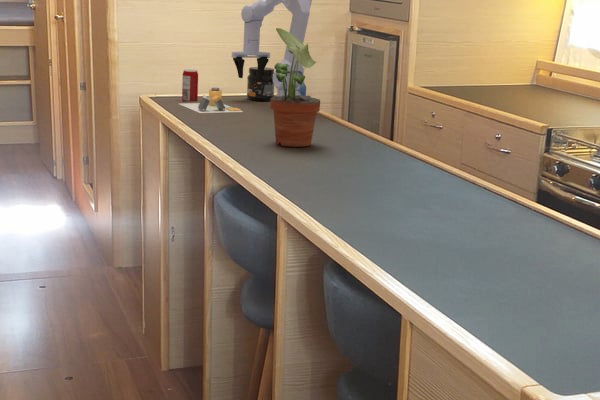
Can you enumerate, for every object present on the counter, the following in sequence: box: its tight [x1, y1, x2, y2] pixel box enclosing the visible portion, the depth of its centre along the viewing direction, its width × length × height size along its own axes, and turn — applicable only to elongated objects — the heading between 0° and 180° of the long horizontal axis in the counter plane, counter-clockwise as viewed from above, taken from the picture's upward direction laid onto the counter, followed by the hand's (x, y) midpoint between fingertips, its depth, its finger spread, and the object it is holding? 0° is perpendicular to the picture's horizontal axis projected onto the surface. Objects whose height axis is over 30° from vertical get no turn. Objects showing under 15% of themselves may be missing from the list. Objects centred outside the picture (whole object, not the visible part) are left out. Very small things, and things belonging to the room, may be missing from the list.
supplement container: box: [246, 66, 275, 103], centre depth 338 cm, size 10×10×12 cm
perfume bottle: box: [298, 82, 307, 96], centre depth 335 cm, size 6×6×12 cm
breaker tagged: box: [212, 95, 225, 111], centre depth 301 cm, size 4×2×5 cm, turn 29°
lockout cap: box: [208, 87, 223, 106], centre depth 310 cm, size 4×4×6 cm
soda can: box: [181, 69, 199, 103], centre depth 321 cm, size 6×6×12 cm
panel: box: [179, 102, 244, 114], centre depth 307 cm, size 20×16×2 cm
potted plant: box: [269, 27, 321, 148], centre depth 251 cm, size 16×15×35 cm
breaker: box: [198, 94, 211, 111], centre depth 299 cm, size 4×2×5 cm, turn 28°
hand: (250, 77), depth 323 cm, fingers open, 7 cm apart
